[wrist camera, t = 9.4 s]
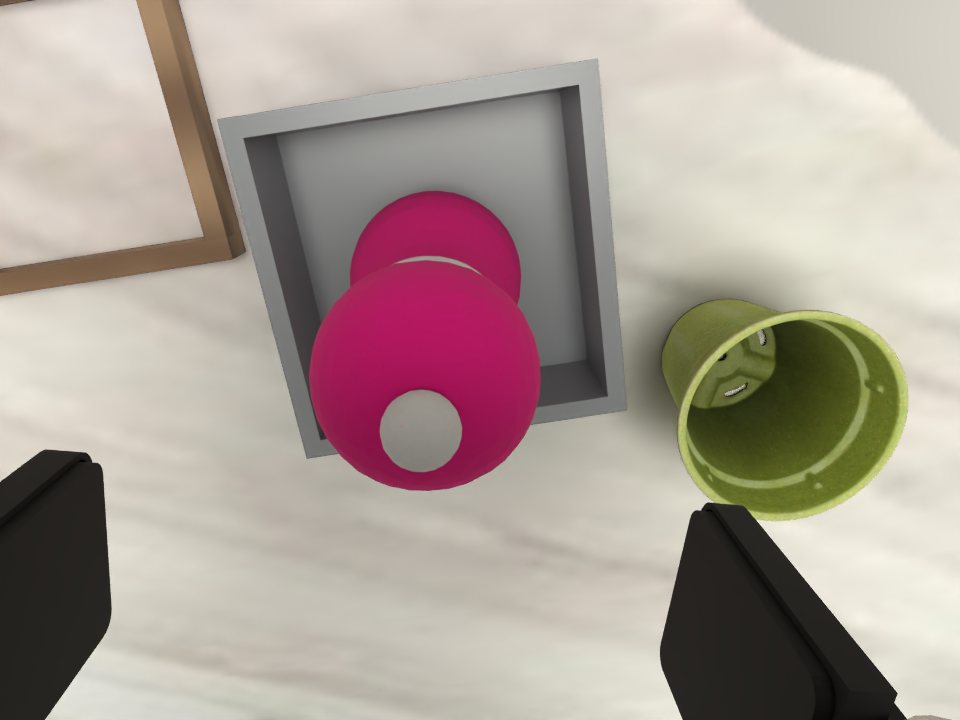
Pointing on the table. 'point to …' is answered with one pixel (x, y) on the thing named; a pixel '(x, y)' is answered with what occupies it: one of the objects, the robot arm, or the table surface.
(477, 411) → the pepper mill
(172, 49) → the brown wooden picture frame
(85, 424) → the table surface
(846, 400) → the plant pot
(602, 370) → the bin
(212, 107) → the table surface
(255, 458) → the table surface
